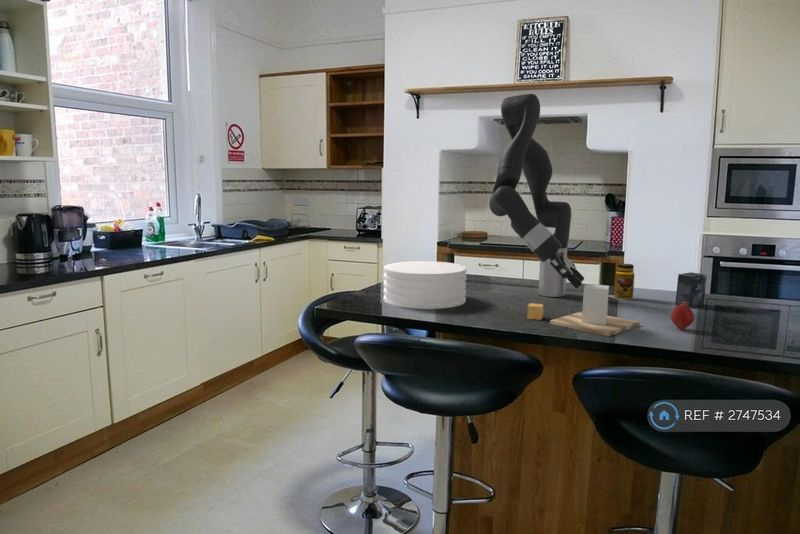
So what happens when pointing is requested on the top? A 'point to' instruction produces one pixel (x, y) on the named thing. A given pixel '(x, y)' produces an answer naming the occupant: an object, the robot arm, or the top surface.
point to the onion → (682, 316)
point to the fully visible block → (535, 311)
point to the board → (611, 327)
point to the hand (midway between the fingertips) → (580, 283)
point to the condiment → (624, 282)
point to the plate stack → (424, 284)
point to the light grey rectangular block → (595, 304)
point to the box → (691, 289)
